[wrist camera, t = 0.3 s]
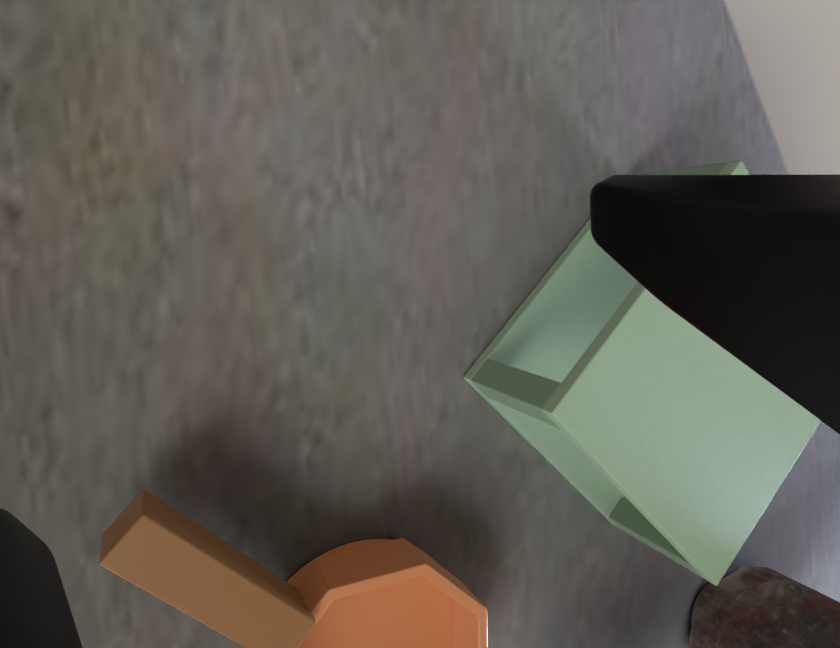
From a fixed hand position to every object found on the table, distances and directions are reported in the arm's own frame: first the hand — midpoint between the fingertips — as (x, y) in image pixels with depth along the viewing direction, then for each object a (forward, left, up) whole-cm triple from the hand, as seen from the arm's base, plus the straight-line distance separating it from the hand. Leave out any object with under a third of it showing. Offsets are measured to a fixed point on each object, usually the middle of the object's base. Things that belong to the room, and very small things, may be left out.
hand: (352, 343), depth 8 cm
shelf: (-16, -9, -14) cm, 23 cm away
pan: (-10, +8, -14) cm, 18 cm away
